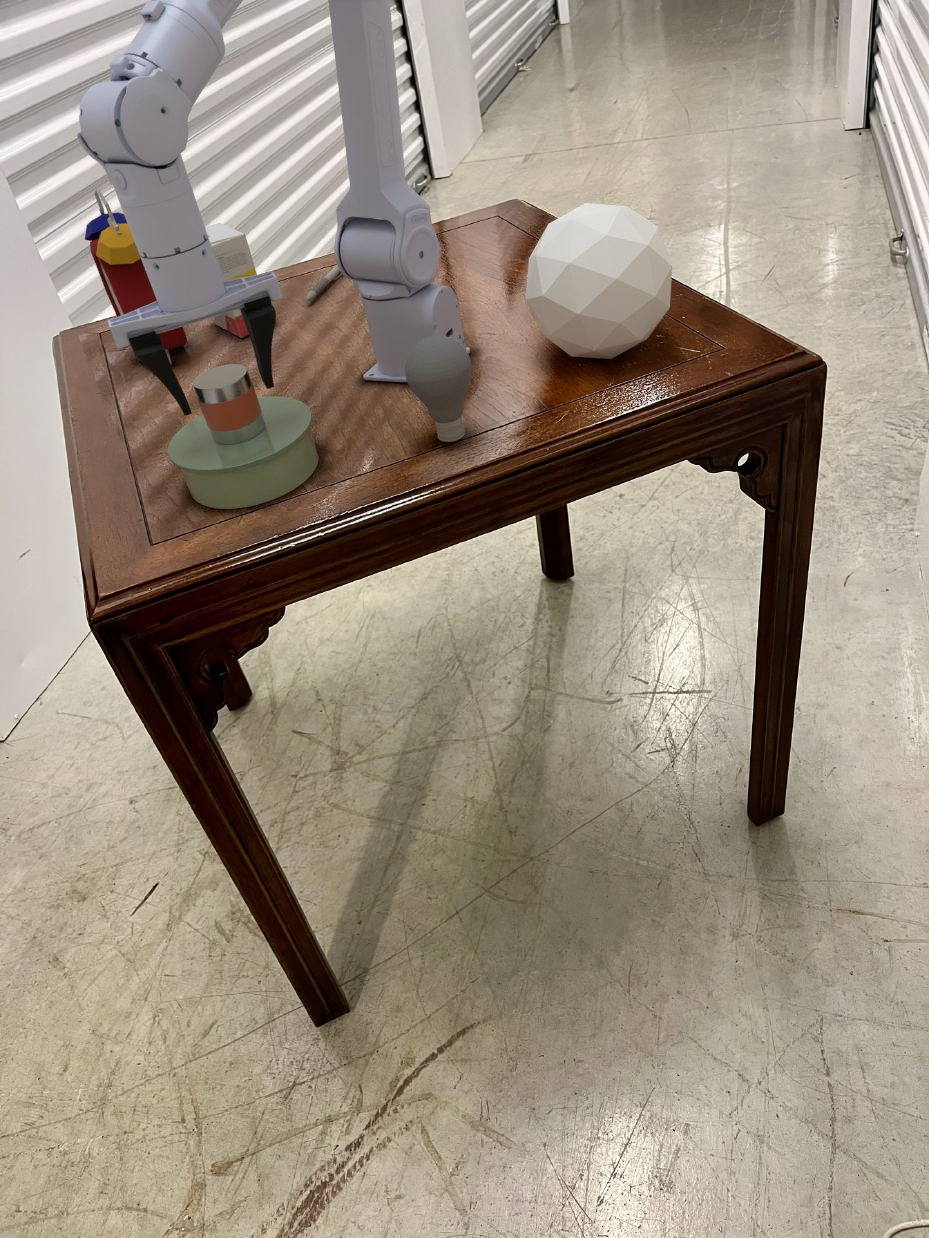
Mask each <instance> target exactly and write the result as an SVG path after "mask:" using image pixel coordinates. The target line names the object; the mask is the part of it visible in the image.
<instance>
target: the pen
mask: <svg viewBox="0 0 929 1238" xmlns="http://www.w3.org/2000/svg"><path fill="white" fill-rule="evenodd" d="M342 275H343V274H342V273H341V271H340V269H339V268H338V265H337V264H335V265H334V266H333V267H332V269H331V270H329V272H328V273H327V274H325V276H324V277H322V278H321V280H320V281H318V282H317V283H316V284H315V285H314V286H313V287H312V289H310V290H309V292H308V293H307V295H306V301H308V302H310V301H312V300H314V299H315V298H317V296H318V295H319V294H321V292H322V291H323V290H324V289H325V288H326V287H327V286H328V285H329V283H330V282H331V281H335V280H337V279H339V278H340V277H341V276H342Z"/></svg>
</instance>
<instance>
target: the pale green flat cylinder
mask: <svg viewBox="0 0 929 1238" xmlns="http://www.w3.org/2000/svg"><path fill="white" fill-rule="evenodd" d="M257 398H258V401H259V404H260V407H261V410H262V415H263V418H264V421H265V428H264V430H263V431H262V432H261V433H260V434H258V435H257V436H255V437H254V438H252V439H249V440H247V441H244V442H241V443H237V444H228V445H226V444H219V443H217V442H215V441H214V440H213V437H212V435H211V432H210V430H209V428H208V426H207V423H206V421H205V418H204V415H203V414H201V415H199V416H197V417H196V418H194V419H193V420H190V421H189V422H188V423H186V424H185V425H184V426H182V428H180V429H179V430H178V431H177V432H176V433H174V436H173V437H172V439H170V442H169V444H168V448H167V454H168V457H169V459H170V462H171V463H172V464H173V465H174V466H175V467H176V468H177V469H178V470H179V469H180V471H181V474H182V476H183V479H184V481H185V483H186V485H187V486H186V487H187V488H188V491H189V493H190V495H191V497H192V498H193V500H194V501H195V502H197V503H198V504H200V505H202V506H205V507H208V508H212V509H218V510H219V509H220V510H234V509H236V510H237V509H243V508H249V507H253V506H258V505H261V504H265V503H268V502H271V501H273V500H275V499H278V498H281V497H283V496H285V495H287V494H288V493H291V492H292V491H293V490H295V489H297V488H298V487H300V486H301V485H302V484H304V483H305V482H306V481H307V480H308V479H309V478H310V477H311V476H312V475H313V474H314V472H315V470H317V469H316V468H317V467H318V465H319V453H318V449H317V446H316V443H315V440H314V436H313V433H312V430H311V428H312V425H313V419H314V417H313V414H312V411H311V409H310V407H309V406H308V405H306V403H304V402H303V401H301V400H298V399H296V398H292V397H289V396H288V397H287V396H273V395H271V396H257Z"/></svg>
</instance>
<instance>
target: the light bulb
mask: <svg viewBox="0 0 929 1238" xmlns="http://www.w3.org/2000/svg"><path fill="white" fill-rule="evenodd" d="M405 375H406V379H407V382H406V383H407V385H408V386H409V388H410V390H411V391H412V393H413V394H414V395H415V396H416V398H418V399H419V400H420V401H421V402H422V404H423V405H424V406H425V407H426V409H427V412H428V414H429V416H430V418H431V419H432V420H433V422H434V425H435V431H436V435H437V439H438V441H441V442H447V443H454V442H456V441H458V440H460V439H463V437H464V436H465V435H466V431H465V427H464V426H465V425H464V420H463V413H464V409H465V403H464V401H465V396H466V393H467V391H468V389H469V387H470V383H471V381H472V375H473V365H472V360H471V357H470V354H468V353H467V351H466V350H465V349H464V348H463V346H462V345H461V344H460V343H458V342H457V341H455V340H454V339H452V338H450V337H447V336H442V335H434V336H429V337H427V338H424V339H422V340H421V341H419V342H418V343H417V344H416V345H415V346H414V347H413V348H412V350H411V351H410V353H409V355H408V358H407V361H406V365H405Z"/></svg>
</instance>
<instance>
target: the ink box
mask: <svg viewBox="0 0 929 1238" xmlns="http://www.w3.org/2000/svg"><path fill="white" fill-rule="evenodd" d="M205 229H206V232H207V235H208V238H209V241H210V244H211V247H212V250H213V253H214V256H215V259H216V262H217V265H218V268H219V271H220V274H221V277H222V280H223V281H228V280H233V279H239V278H244V277H250V276H255V275H258V273H257V270H256V266H255V262H254V260H253V257H252V252H251V249H250V246H249V243H248V239H247V235H246V233H245V232H241V231H239V230H237V229H235V228H232V227H230V226H228V225H226V224H223V223H221V222H217V223H214V224H210V225H208V226H207V225H206V226H205ZM212 318H213V321H214V324H215V326H217V327H219V328H222V329H223V330H225V331H227V332H229V333H230V334H233V335H234V336H236V337H238V338H240V339H243V338H245V337H247V336H249V333H248V331H247V328H246V325H245V322H244V319H243V317H242V314H241V311H240V309H238V310H235V311H232V312H228V313H225V314H222V315H219V316H215V317H212Z"/></svg>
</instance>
